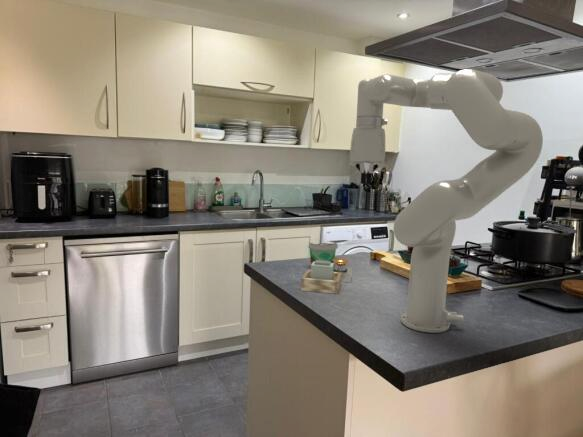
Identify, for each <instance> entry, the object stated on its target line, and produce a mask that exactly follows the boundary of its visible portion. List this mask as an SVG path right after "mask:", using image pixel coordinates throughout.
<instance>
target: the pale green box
mask: <svg viewBox="0 0 583 437" xmlns="http://www.w3.org/2000/svg"><path fill="white" fill-rule="evenodd" d="M334 267H335V263H331V261H320V260H316V261H315V262H314V261H313V263H312V265H311V264H310V270H311V279H322V280H333V272H334Z"/></svg>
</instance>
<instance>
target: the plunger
mask: <svg viewBox="0 0 583 437" xmlns="http://www.w3.org/2000/svg"><path fill="white" fill-rule="evenodd" d="M333 263H334V267H335V272H344V273H346V268H347V265H348V264H349V259H348V258H346V257H335V258H333Z"/></svg>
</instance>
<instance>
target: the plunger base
mask: <svg viewBox="0 0 583 437" xmlns="http://www.w3.org/2000/svg"><path fill="white" fill-rule="evenodd" d="M334 272H335V266H334ZM340 273H341V283H351V280H352V276H353V275H352V273H353V268H352V267H346V273H344V272H340Z"/></svg>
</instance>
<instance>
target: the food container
mask: <svg viewBox="0 0 583 437" xmlns="http://www.w3.org/2000/svg"><path fill="white" fill-rule="evenodd" d="M338 245H339V244H338V243H337V241H334V242H333V243H326V242H321V243H312V242H309V243H308V246H307V247H308V249H309V258H310V261H309V262H310V266H311V265H312V263H313V261H314V262H315V261H316V260H320V261H331V263H333V258H336V250H337V249H339V248H338V247H339V246H338Z"/></svg>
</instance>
